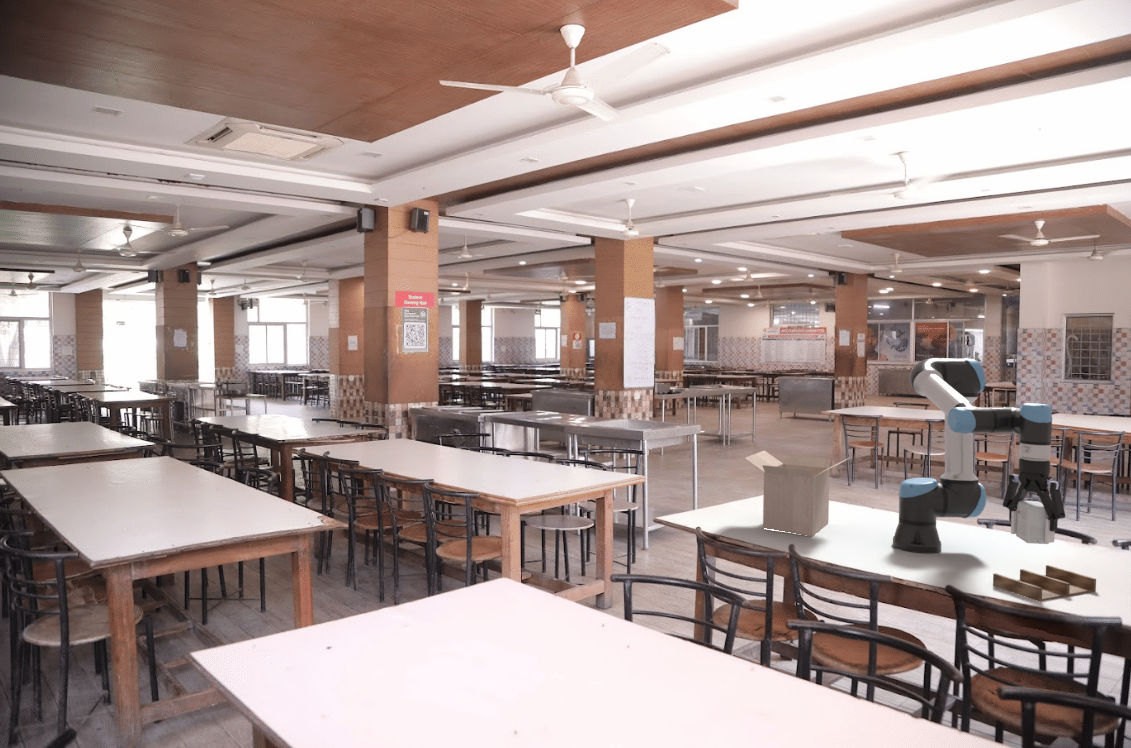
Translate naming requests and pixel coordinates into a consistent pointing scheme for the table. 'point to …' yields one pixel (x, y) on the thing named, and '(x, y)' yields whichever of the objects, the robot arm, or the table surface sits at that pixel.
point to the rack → (1046, 584)
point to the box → (794, 492)
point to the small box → (1031, 522)
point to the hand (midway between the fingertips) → (1032, 537)
